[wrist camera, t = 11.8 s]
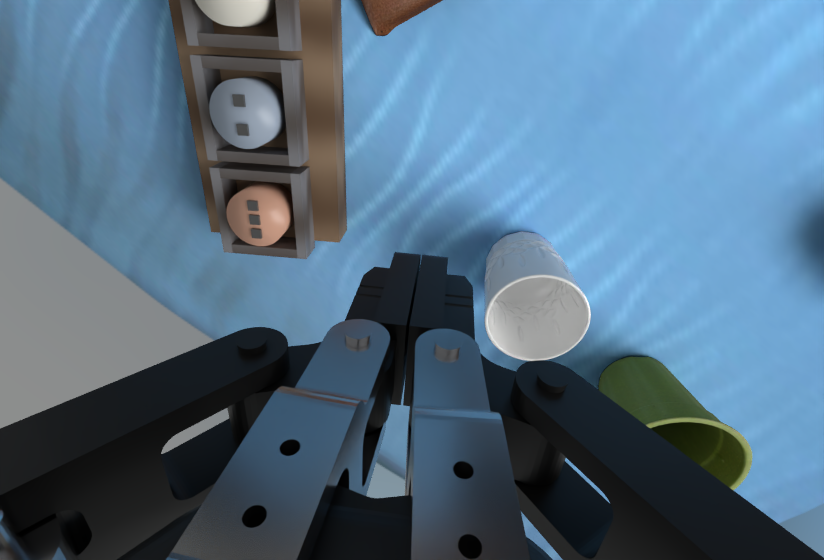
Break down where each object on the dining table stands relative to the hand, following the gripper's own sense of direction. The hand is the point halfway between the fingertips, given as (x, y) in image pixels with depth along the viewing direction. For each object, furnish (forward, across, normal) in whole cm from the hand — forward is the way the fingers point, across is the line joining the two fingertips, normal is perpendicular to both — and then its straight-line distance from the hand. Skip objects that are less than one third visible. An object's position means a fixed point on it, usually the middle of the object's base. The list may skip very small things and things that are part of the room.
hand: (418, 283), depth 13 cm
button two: (+24, +15, 0) cm, 28 cm away
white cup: (+28, -8, +12) cm, 32 cm away
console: (+28, +15, 0) cm, 31 cm away
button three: (+24, +15, +8) cm, 29 cm away
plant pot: (+28, -23, +25) cm, 44 cm away
